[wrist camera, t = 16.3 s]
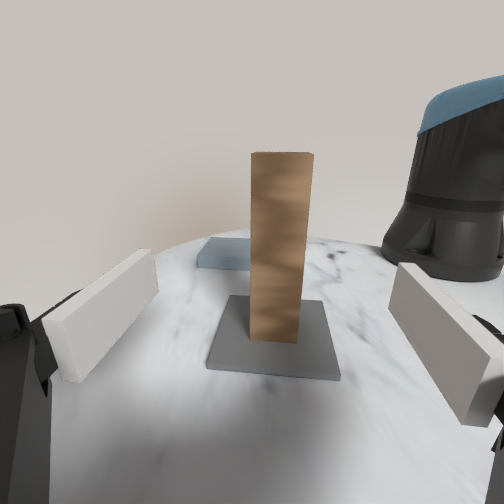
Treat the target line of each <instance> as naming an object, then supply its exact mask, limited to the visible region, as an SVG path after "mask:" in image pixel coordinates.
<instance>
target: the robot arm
mask: <svg viewBox="0 0 504 504" xmlns="http://www.w3.org/2000/svg"><path fill="white" fill-rule="evenodd" d="M417 137H418V140H417V144H416V149H415V154H414V158H413V163H412V167H411V172H410V177H409V181H408V186H407V191H406V195H405V200H404V204H403V206H402V208H401V210H400V211H399V213H398V215H397V216H396V218H395V220H394V221H393V223H392V224H391V226H390V228H389V229H388V231H387V233H386V235H385V236H384V239H383V244H382V248H381V252H382V254H383V256H384V257H385V258H387V259H388V260H389V261H391V262H393V263H395V264H396V265H398V268H397V272H396V277H395V281H394V285H393V289H392V294H391V298H390V302H389V306H388V309H389V311H390V312H391V314H392V315H393V317H394V318H395V320H396V322H397V323H398V325H399V326H400V328H401V330H402V331H403V333H404V334H405V336H406V338H407V339H408V341H409V342H410V344H411V345H412V347H413V349H414V350H415V352H416V353H417V355H418V357H419V358H420V360H421V361H422V363H423V365H424V366H425V368H426V369H427V371H428V372H429V374H430V376H431V377H432V379H433V380H434V382H435V384H436V385H437V387H438V388H439V390H440V392H441V393H442V395H443V396H444V398H445V399H446V401H447V403H448V404H449V406H450V407H451V409H452V411H453V412H454V414H455V415H456V417H457V419H458V420H459V422H460V423H461V425H468V426H477V427H486V428H487V427H488V425H489V423H490V421H491V419H492V417H493V415H494V414H495V415H496V416H497V418H498V419H499V420H500V422H501V423H502V424H503V425H504V335H502V334H501V332H500V331H499V330H498V329H496V328H495V327H494V326H493V325H492V324H491V323H489V322H487V321H485V320H484V319H482V318H480V317H478V316H477V315H471V314H470V313H469V312H468V311H466V310H465V309H464V308H463V307H462V306H461V305H460V304H459V303H458V302H457V301H456V300H454V299H453V298H452V297H451V296H450V295H449V294H448V293H447V292H446V291H445V290H443V289H442V288H441V287H440V286H439V285H438V284H437V283H436V282H435V281H434V280H433V279H431V278H430V277H429V276H432V277H436V278H441V279H447V280H454V281H465V282H481V281H489V280H493V279H495V278H497V277H498V276H499V275H500V273H501V270H502V267H503V265H504V228H503V216H504V75H501V76H497V77H492V78H487V79H483V80H479V81H475V82H471V83H467V84H464V85H460V86H457V87H455V88H452V89H449V90H446V91H444V92H442V93H440V94H438V95H437V96H435V97H434V98H433V99H432V100H431V101H430V103H429V104H428V105H427V107H426V110H425V113H424V117H423V120H422V124H421V127H420V131H419V132H418V133H417ZM158 292H159V290H158V282H157V275H156V268H155V260H154V253H153V249H141V248H140V249H139V250H137V251H136V252H134V253H133V254H132V255H130V256H129V257H127V258H126V259H125V260H123V261H122V262H120V263H119V264H118V265H116V266H115V267H113V268H112V269H111V270H109V271H108V272H106V273H105V274H104V275H102V276H101V277H99V278H98V279H97V280H95V281H94V282H92V283H91V284H90V285H88V286H87V287H85V288H84V289H81V290H79V291H77V292H74V293H72V294H71V295H69V296H68V297H66V298H65V299H63V301H61V302H59V303H58V304H56V305H55V307H52V308H51V309H49V310H48V311H46V312H45V313H44V314H42V315H40V316H39V317H38V318H36V319H35V320H33V321H32V322H30V321H29V318H28V315H27V313H26V310H25V307H24V305H22V304H7V305H1V306H0V504H49V481H50V443H51V405H52V383H51V380H50V376H51V375H52V374H53V373H54V372H55V371H56V370H57V369H58V371H59V374H60V377H61V380H62V381H68V382H77V383H81V382H82V381H83V380H84V379H85V378H86V376H87V375H88V374H89V373H90V372H91V371H92V369H93V368H94V367H95V366H96V365H97V364H98V362H99V361H100V360H101V359H102V358H103V357H104V355H105V354H106V353H107V352H108V351H109V350H110V348H111V347H112V346H113V345H114V344H115V343H116V341H117V340H118V339H119V338H120V337H121V336H122V334H123V333H124V332H125V331H126V330H127V329H128V327H129V326H130V325H131V324H132V323H133V322H134V320H135V319H136V318H137V317H138V316H139V315H140V313H141V312H142V311H143V310H144V309H145V308H146V306H147V305H148V304H149V303H150V302H151V301H152V299H153V298H154V297H155V296H156V295H157V294H158ZM491 451H493V452H495V457H494V462H493V467H492V472H491V476H490V481H489V486H488V491H487V496H486V501H485V504H504V426H503V428H502V430H501V432H500V433H499V435H498V437H497V439H496V441H495V443H494V445H493V447H492V449H491Z"/></svg>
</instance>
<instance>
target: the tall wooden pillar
mask: <svg viewBox="0 0 504 504" xmlns="http://www.w3.org/2000/svg"><path fill="white" fill-rule="evenodd" d="M313 160H314V154H311V153H308V152H307V153H306V152H255V153H251V252H250V340H256V341H269V342H282V343H295V344H297V339H298V328H299V316H300V305H301V294H302V283H303V272H304V261H305V250H306V238H307V227H308V216H309V204H310V193H311V183H312V172H313Z"/></svg>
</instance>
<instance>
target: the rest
mask: <svg viewBox="0 0 504 504" xmlns="http://www.w3.org/2000/svg"><path fill="white" fill-rule="evenodd" d="M207 369H214V370H225V371H236V372H247V373H258V374H269V375H280V376H291V377H302V378H313V379H324V380H335V381H340V376H341V374H340V370H339V366H338V362H337V358H336V354H335V350H334V346H333V342H332V338H331V334H330V330H329V326H328V322H327V318H326V314H325V310H324V306H323V302H322V301H316V300H301V305H300V316H299V328H298V339H297V344H295V343H282V342H269V341H256V340H250V296H238V295H230V297H229V300H228V303H227V306H226V309H225V312H224V314H223V317H222V320H221V323H220V326H219V329H218V332H217V335H216V338H215V340H214V343H213V346H212V349H211V352H210V355H209V358H208V361H207Z"/></svg>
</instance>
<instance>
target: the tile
mask: <svg viewBox="0 0 504 504" xmlns="http://www.w3.org/2000/svg"><path fill="white" fill-rule="evenodd" d="M250 252H251V239H242V238H218V237H211V238H210V239H209V241H208V242H207V243H206V245H205V246H204V247H203V249H202V250H201V251H200V252H199V254H198V255H197V262H198V268H210V269H229V270H247V271H250Z"/></svg>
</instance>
